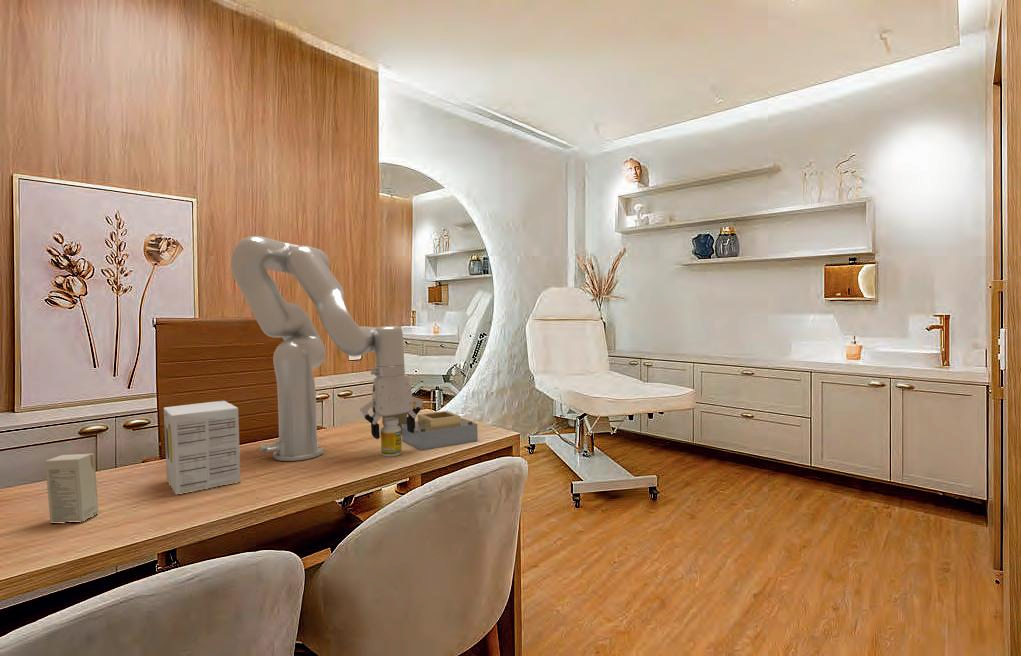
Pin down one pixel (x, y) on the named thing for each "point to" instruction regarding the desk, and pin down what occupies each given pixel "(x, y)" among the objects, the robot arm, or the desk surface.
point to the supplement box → (201, 445)
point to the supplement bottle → (390, 438)
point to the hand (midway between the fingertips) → (394, 435)
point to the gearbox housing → (439, 431)
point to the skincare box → (71, 487)
